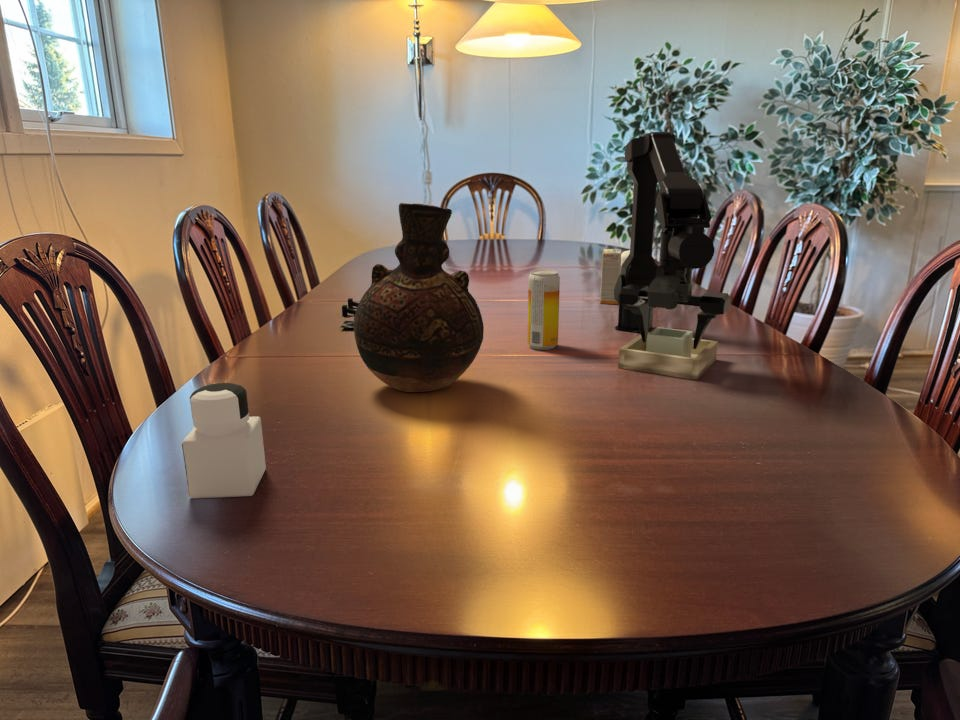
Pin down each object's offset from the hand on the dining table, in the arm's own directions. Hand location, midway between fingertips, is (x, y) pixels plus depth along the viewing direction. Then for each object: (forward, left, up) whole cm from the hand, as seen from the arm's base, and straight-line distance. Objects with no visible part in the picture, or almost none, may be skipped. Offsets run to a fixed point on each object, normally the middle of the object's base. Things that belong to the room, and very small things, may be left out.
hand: (669, 345), depth 124 cm
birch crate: (0, 0, -4) cm, 4 cm away
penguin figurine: (-38, +80, -4) cm, 89 cm away
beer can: (-25, -1, -4) cm, 25 cm away
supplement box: (-29, +47, -4) cm, 55 cm away
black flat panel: (-72, +4, -4) cm, 72 cm away
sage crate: (0, 0, -3) cm, 3 cm away
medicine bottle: (-31, -73, -4) cm, 79 cm away
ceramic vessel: (-32, -33, -4) cm, 46 cm away
